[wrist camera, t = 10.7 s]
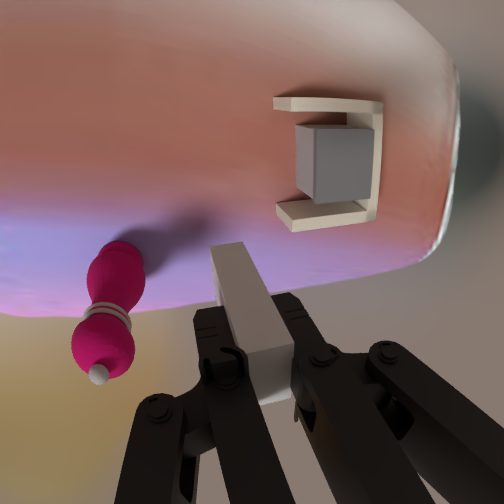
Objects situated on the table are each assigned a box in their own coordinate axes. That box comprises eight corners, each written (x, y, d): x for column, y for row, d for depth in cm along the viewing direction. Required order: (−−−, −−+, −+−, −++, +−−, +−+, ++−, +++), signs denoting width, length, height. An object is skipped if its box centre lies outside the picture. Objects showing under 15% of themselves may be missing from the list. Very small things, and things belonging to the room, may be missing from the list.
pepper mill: (149, 240, 38) (141, 355, 21) (145, 288, 41) (142, 410, 24) (94, 234, 36) (48, 345, 19) (94, 283, 39) (64, 402, 22)
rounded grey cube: (293, 123, 36) (316, 128, 30) (345, 123, 37) (374, 129, 32) (294, 187, 40) (315, 204, 34) (343, 183, 41) (370, 198, 36)
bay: (272, 97, 34) (291, 97, 29) (356, 99, 36) (383, 102, 31) (275, 213, 41) (292, 232, 36) (352, 205, 43) (375, 220, 38)
